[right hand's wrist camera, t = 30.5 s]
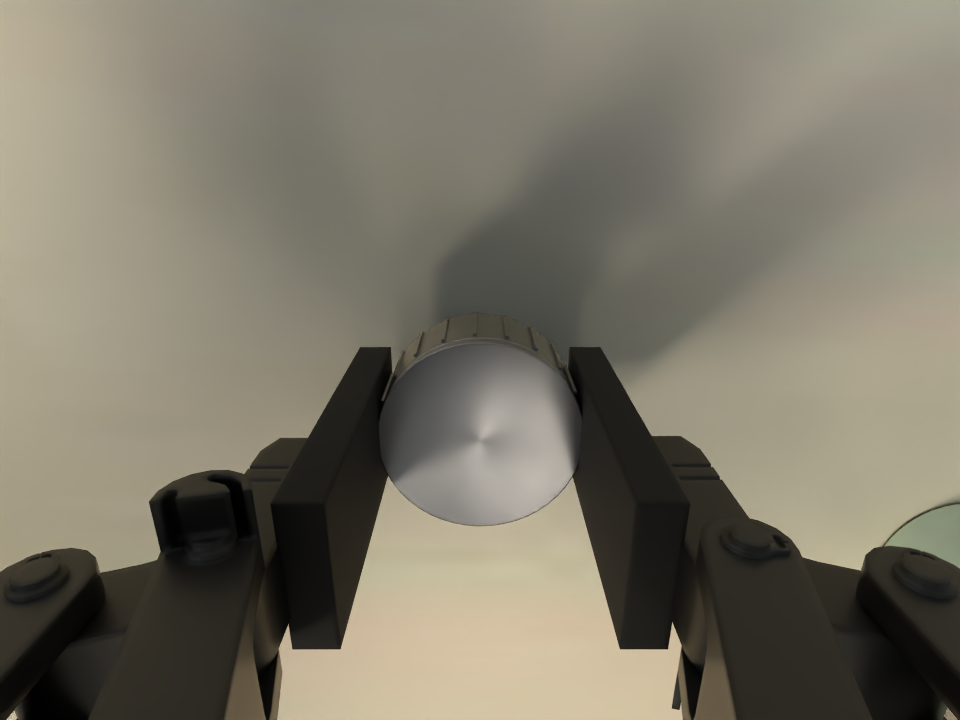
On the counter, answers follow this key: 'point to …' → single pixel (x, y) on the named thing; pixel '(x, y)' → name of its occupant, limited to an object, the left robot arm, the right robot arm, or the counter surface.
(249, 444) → the counter surface
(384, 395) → the cap
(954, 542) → the bottle
